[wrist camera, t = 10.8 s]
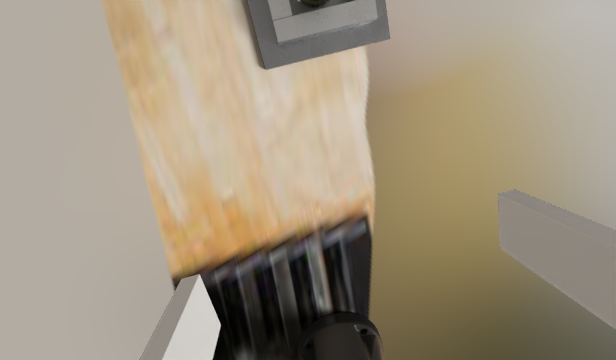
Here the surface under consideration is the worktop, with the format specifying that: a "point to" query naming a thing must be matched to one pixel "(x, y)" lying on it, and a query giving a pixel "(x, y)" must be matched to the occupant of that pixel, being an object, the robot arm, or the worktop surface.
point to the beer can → (314, 2)
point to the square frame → (315, 28)
